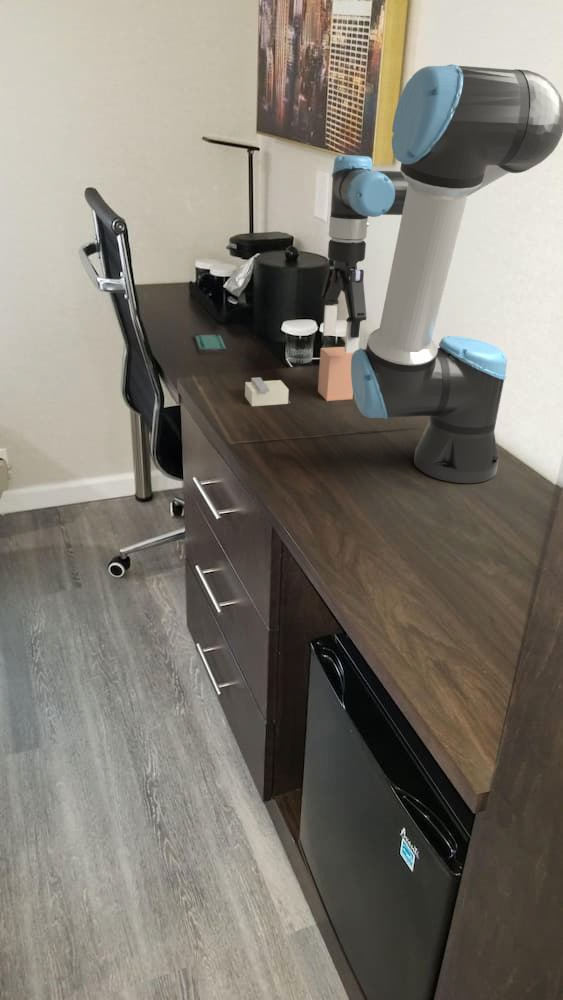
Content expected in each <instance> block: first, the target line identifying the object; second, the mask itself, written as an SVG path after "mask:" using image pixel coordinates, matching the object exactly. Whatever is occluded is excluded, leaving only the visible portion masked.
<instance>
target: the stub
mask: <svg viewBox="0 0 563 1000" xmlns="http://www.w3.org/2000/svg"><path fill="white" fill-rule="evenodd" d="M319 355H320V357H319V358H320V359H319V369H318V383H317V384H318V385H317V392H318V393H319V394H320V395H321V396H322V397H323V398H324V400H325V401H326V402H328V401H329V402H330V401H345V400H353V398H354V393H353V388H352V380H351V359H352V355H353V353H346V352H345V346H333V347H321V348H320V353H319Z"/></svg>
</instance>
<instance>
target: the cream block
mask: <svg viewBox="0 0 563 1000" xmlns="http://www.w3.org/2000/svg"><path fill="white" fill-rule="evenodd" d="M250 380H251V381H245V385H244V397H245V399H246V400H247V401H248V402H249V404H250V406H251V407H260V406H273V405H274V406H277V405H287V404H292V403H291V401H290V400H289V392H290V391H289V390H290V388H288V387H287V386H286V384H285V383H284V382H283V381H282V380H281V379H277V380H274V379H273V380H263V378H262V377H251V379H250Z"/></svg>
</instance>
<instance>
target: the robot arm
mask: <svg viewBox="0 0 563 1000" xmlns="http://www.w3.org/2000/svg"><path fill="white" fill-rule="evenodd" d="M392 121H393V122H392V129H391V131H392V133H393V134H392V136H391V148H392V153H393V156H394V158H395V159H396V160H397V161H398V162H400V163H401V164H400V168H399V171H396V170H393V171H392V170H374V169H373V159H372V157H370V156H365V155H356V154H355V155H354V154H353V155H352V154H343V155H342V154H341V155H338V156H336V157H335V158H334V163H333V170H332V174H331V177H332V181H331V182H332V185H331V202H330V216H329V225H328V226H329V227H328V228H329V230H328V236H329V238H331V239H330V240H329V241H328V247H327V248H328V249H327V258H328V262H327V263H328V265H327V271H326V275H325V279H324V283H323V286H322V291H321V296H320V298H321V300H323V304H324V313H323V327H322V336H325V337H328V336H336V331H337V317H338V305H340V303H339V297H340V294H341V292H343V293H344V294H343V295H344V299H345V302H346V309H347V313H348V317H347V318H346V319H345V321H346V331H345V333H346V334H345V343H344V347H345V352H346V353H353V355H352V359H351V380H352V388H353V398H354V400H355V404H356V406H357V409H358V410H359V412H360V414H361V415H362V416H364V417H365V418H369V419H374V418H377V419H385V420H387V419H389V418H393V419H394V418H414V417H416V418H417V417H429V421H428V424H427V426H426V428H425V430H424V431H423V433H422V435H421V437H420V440H419V442H417V445H416V447H415V451H414V457H413V463H414V465H415V467H416V468H417V469H418V470H419V471H420V472H422V473H424V474H425V475H427V476H429V477H431V478H434V479H437V480H441V481H444V482H450V483H457V484H478V483H483V482H486V481H488V480H491V479H493V478H494V477H495V476H496V475H497V472H498V466H499V455H498V453H499V452H498V448H497V441H496V433H495V429H496V425H497V420H498V413H499V409H500V403H501V397H502V393H503V388H504V383H505V380H506V377H507V376H506V373H507V364H508V358H507V355H506V353H505V352H504V351H503V350H502V349H501V348H499V347H497V346H495V345H493V344H491V343H488V342H486V341H482V340H479V339H475V338H470V337H465V336H457V335H450V336H449V335H448V336H444V337H442V338H441V339H440V342H439V343H438V345H437V343H436V342H435V341H434V339H433V338H432V337H433V335H434V334H433V333H434V329H435V325H436V321H437V317H438V314H439V309H440V306H441V302H442V297H443V294H444V290H445V286H446V283H447V278H448V274H449V270H450V266H451V262H452V258H453V255H454V250H455V247H456V243H457V239H458V236H459V235H458V234H459V232H460V227H461V223H462V219H463V214H464V211H465V207H466V203H467V200H468V197H469V196H471V195H472V194H474V193H476V192H478V191H480V190H481V189H483V188H485V187H486V186H488V185H490V184H492V183H493V182H495V181H497V180H499V179H500V178H502V177H504V176H506V175H507V174H521V173H524V172H526V171H528V170H530V169H532V168H534V167H536V166H538V165H539V164H541V163H543V161H545V160H546V159H547V158H548V157H549V156H551V154H552V153H553V152H554V151H555V149H556V148H557V146H558V144H559V143H560V140H561V139H562V136H563V99H562V96H561V94H560V93H559V91H558V89H557V88H556V87H555V85H553V83H552V82H551V81H550V80H549V79H547V78H546V77H545V76H542V75H541V74H539V73H537V72H533V71H531V70H528V69H516V68H515V69H506V68H496V67H495V68H494V67H481V66H480V67H479V66H467V65H456V64H454V63H453V64H452V63H451V64H448V65H429V66H424V67H422V68H420V69H418V70H417V71H416V72H415V73H414V74H413V75H412V76H411V78H409V80H407V82H406V83H405V86H404V87H403V90H402V92H401V94H400V97H399V99H398V102H397V105H396V108H395V111H394V116H393V120H392ZM389 215H391V216H401V218H400V223H399V228H398V232H397V233H398V234H397V238H396V244H395V248H394V254H393V259H392V263H391V264H392V265H391V268H390V275H389V278H388V284H387V289H386V295H385V300H384V303H383V304H384V305H383V310H382V313H381V320H380V323H379V324H380V325H379V328H377V329H375V330H373V331H372V332H371V333H370V334H369V336H368V338H367V343H366V348H365V349H364V348H360V338H361V336H360V335H361V326H362V325H361V324H362V321H366V320H367V306H366V295H365V286H364V284H365V283H364V275H365V274H364V273H365V272H364V269H358V263H359V262H363V261H364V260H365V257H366V246H367V242H365V241H366V240H365V239H366V238H367V233H368V231H367V230H368V227H369V226H370V223H369V222H368V220H369V219H368V218H370V217H371V218H377V217H380V216H389Z"/></svg>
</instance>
